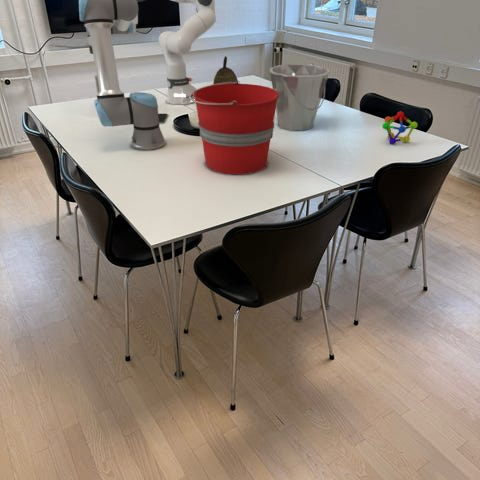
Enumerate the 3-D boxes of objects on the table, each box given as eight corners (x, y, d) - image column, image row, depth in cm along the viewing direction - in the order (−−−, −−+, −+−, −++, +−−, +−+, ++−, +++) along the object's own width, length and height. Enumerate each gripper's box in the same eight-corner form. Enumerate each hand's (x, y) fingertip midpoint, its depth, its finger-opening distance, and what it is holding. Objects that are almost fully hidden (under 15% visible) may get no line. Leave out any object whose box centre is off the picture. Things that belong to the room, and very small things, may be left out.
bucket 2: (296, 138, 215) (301, 78, 201) (255, 124, 234) (256, 68, 219) (335, 125, 232) (342, 70, 217) (294, 113, 251) (297, 61, 236)
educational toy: (377, 146, 209) (379, 114, 202) (384, 138, 219) (386, 107, 211) (411, 149, 202) (415, 116, 195) (417, 141, 212) (420, 109, 204)
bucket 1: (198, 147, 204) (194, 79, 188) (274, 148, 203) (277, 80, 187) (188, 177, 175) (183, 101, 159) (277, 179, 174) (281, 102, 158)
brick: (97, 97, 245) (94, 75, 239) (109, 95, 247) (106, 74, 241) (99, 98, 241) (95, 77, 235) (111, 97, 243) (107, 76, 237)
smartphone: (149, 121, 235) (154, 113, 247) (150, 122, 235) (155, 114, 248) (163, 121, 235) (167, 113, 247) (163, 123, 235) (168, 114, 248)
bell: (227, 105, 294) (202, 96, 282) (238, 66, 289) (213, 55, 277) (243, 108, 280) (217, 98, 268) (255, 66, 275) (229, 55, 263)
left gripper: (87, 43, 236) (94, 88, 248) (90, 47, 222) (98, 95, 234) (101, 42, 238) (108, 87, 251) (106, 47, 224) (112, 94, 236)
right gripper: (122, 4, 278) (125, 29, 286) (127, 7, 262) (130, 33, 269) (132, 4, 280) (134, 28, 288) (138, 7, 264) (141, 32, 272)
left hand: (103, 91), depth 242 cm, fingers closed on brick, 5 cm apart
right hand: (132, 30), depth 278 cm, fingers open, 8 cm apart
